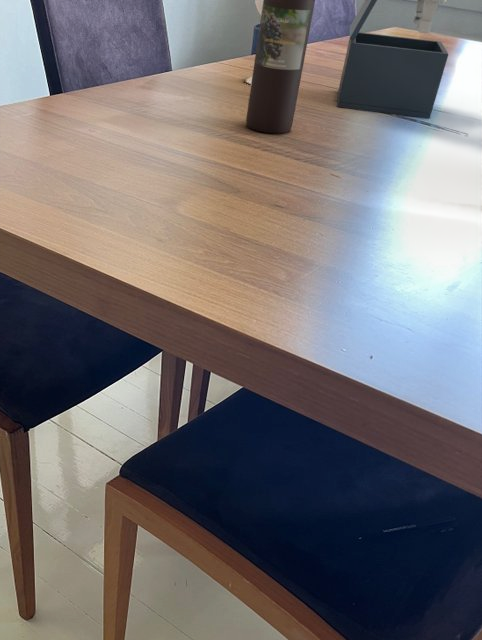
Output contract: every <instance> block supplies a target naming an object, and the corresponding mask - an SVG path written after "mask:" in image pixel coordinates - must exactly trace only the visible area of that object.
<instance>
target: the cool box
mask: <svg viewBox="0 0 482 640" xmlns="http://www.w3.org/2000/svg"><path fill="white" fill-rule="evenodd" d="M448 57H449V52H448V51H447V49H446V47H445V46H444V44H443V42H442V41H440V40H431V39H421V38H415V37H405V36H395V35H385V34H378V33H377V34H376V33H368V32H360V31H359V33H358V34H357V36H356V38H355V40H354V41H353V40H351V39H350V38H348V44H347V48H346V53H345V58H344V62H343V66H342V71H341V77H340V81H339V86H338V89H337V92H338V93H337V104H336V107H337V108H344V109H352V110H360V111H367V112H375V113H383V114H391V115H398V116H405V117H406V116H407V117H412V118H413V117H415V118H422V119H431V115H432V113H433V110H434V105H435V102H436V99H437V95H438V93H439V89H440V85H441V82H442V79H443V76H444V71H445V67H446V65H447V62H448V59H449V58H448Z"/></svg>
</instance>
